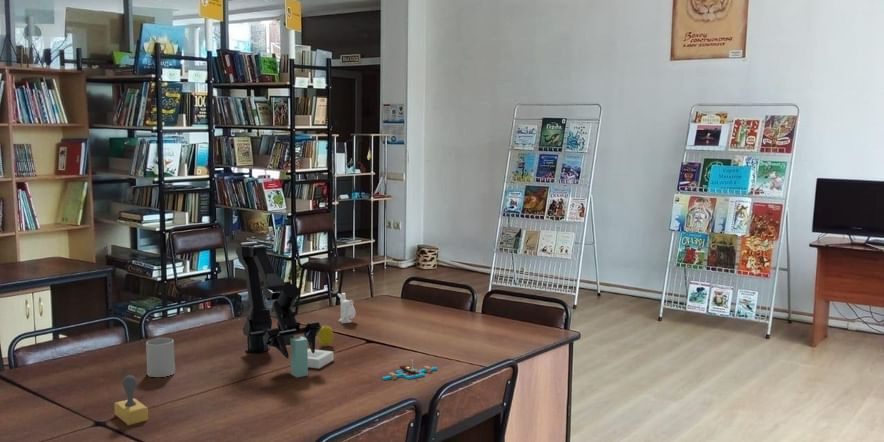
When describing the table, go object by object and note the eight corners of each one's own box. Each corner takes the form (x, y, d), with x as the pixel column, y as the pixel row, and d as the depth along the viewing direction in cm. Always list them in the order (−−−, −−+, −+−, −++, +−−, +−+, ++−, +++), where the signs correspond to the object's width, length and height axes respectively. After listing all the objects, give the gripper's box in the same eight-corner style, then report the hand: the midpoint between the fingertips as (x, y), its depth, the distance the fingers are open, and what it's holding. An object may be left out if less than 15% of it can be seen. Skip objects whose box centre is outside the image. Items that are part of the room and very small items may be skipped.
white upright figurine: (332, 321, 317) (332, 293, 316) (345, 319, 322) (345, 291, 321) (345, 325, 312) (345, 296, 310) (358, 322, 316) (358, 294, 315)
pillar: (291, 374, 250) (290, 338, 248) (302, 372, 252) (301, 336, 250) (296, 377, 246) (295, 341, 245) (307, 375, 249) (307, 339, 247)
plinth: (292, 365, 259) (292, 356, 259) (308, 357, 268) (308, 348, 268) (318, 368, 256) (318, 359, 255) (333, 360, 265) (333, 351, 265)
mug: (178, 375, 248) (177, 342, 247) (151, 380, 243) (150, 346, 242) (167, 365, 258) (166, 334, 257) (141, 370, 253) (139, 338, 252)
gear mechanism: (375, 376, 249) (389, 384, 241) (375, 360, 248) (389, 367, 241) (427, 366, 260) (442, 373, 252) (427, 350, 259) (442, 357, 251)
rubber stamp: (114, 415, 214) (112, 373, 213) (135, 410, 218) (133, 369, 216) (127, 425, 207) (125, 382, 205) (148, 420, 210) (146, 377, 209)
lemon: (330, 348, 279) (330, 327, 278) (316, 347, 280) (315, 326, 279) (335, 344, 284) (335, 323, 283) (321, 343, 285) (321, 322, 284)
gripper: (303, 324, 265) (318, 363, 258) (252, 332, 254) (266, 373, 247) (313, 306, 258) (329, 345, 251) (261, 313, 247) (276, 355, 240)
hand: (300, 355), depth 247 cm, fingers open, 9 cm apart
